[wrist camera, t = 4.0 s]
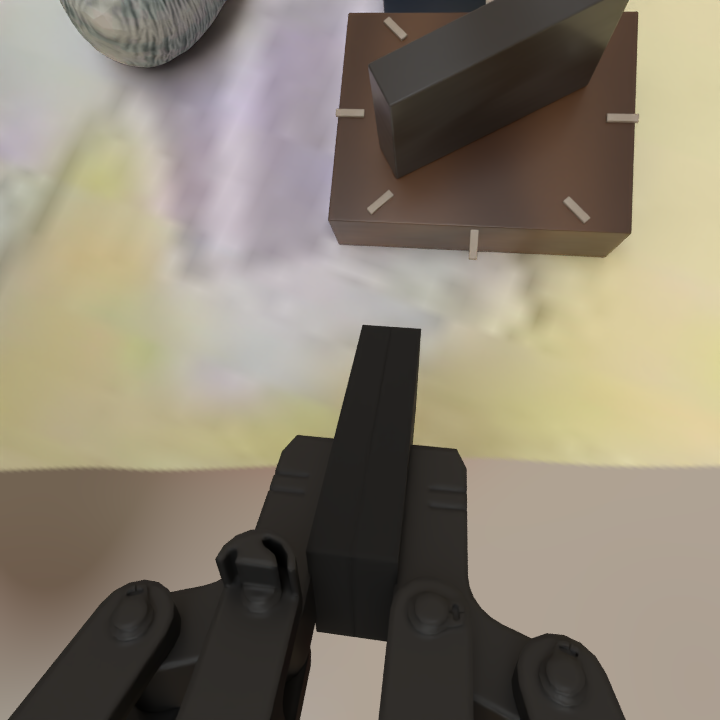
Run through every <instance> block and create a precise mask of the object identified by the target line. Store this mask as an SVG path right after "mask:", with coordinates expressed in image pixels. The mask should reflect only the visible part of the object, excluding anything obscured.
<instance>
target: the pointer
mask: <svg viewBox="0 0 720 720" xmlns="http://www.w3.org/2000/svg"><path fill="white" fill-rule="evenodd" d="M628 1H629V0H493V1H491V2H489V3H487V4H485V5H483V6H482V7H480V8H478V9H476V10H474V11H472V12H470V13H468V14H466V15H464V16H462V17H460V18H458V19H456V20H454V21H452V22H450V23H448V24H446V25H444V26H442V27H440V28H438V29H436V30H434V31H432V32H430V33H428V34H426V35H424V36H422V37H420V38H418V39H416V40H414V41H412V42H410V43H408V44H407V45H405V46H403V47H401V48H399V49H397V50H395V51H393V52H391V53H389V54H387V55H385V56H383V57H381V58H379V59H377V60H375V61H373V62H371V63H369V64H368V70H369V77H370V84H371V91H372V97H373V104H374V111H375V118H376V125H377V131H378V138H379V145H380V148H381V150H382V152H383V154H384V156H385V158H386V160H387V162H388V163H389V165H390V167H391V169H392V171H393V173H394V175H395V177H396V178H397V179H398V178H400V177H402V176H404V175H406V174H408V173H411V172H413V171H415V170H417V169H419V168H421V167H423V166H425V165H427V164H429V163H431V162H433V161H435V160H437V159H439V158H441V157H443V156H445V155H447V154H449V153H451V152H453V151H455V150H457V149H459V148H461V147H463V146H465V145H467V144H469V143H471V142H473V141H475V140H477V139H479V138H481V137H483V136H485V135H487V134H489V133H491V132H494V131H496V130H498V129H500V128H502V127H504V126H506V125H508V124H510V123H512V122H514V121H516V120H518V119H520V118H522V117H524V116H526V115H528V114H530V113H532V112H534V111H536V110H538V109H540V108H542V107H544V106H546V105H548V104H550V103H552V102H554V101H556V100H558V99H560V98H562V97H564V96H566V95H568V94H570V93H572V92H574V91H577V90H579V89H581V88H583V87H585V86H587V85H588V83H589V81H590V79H591V77H592V75H593V73H594V71H595V69H596V67H597V65H598V63H599V61H600V59H601V57H602V55H603V53H604V51H605V48H606V46H607V44H608V42H609V40H610V38H611V36H612V34H613V32H614V30H615V28H616V26H617V24H618V22H619V20H620V18H621V16H622V14H623V11H624V9H625V7H626V5H627V3H628Z"/></svg>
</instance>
